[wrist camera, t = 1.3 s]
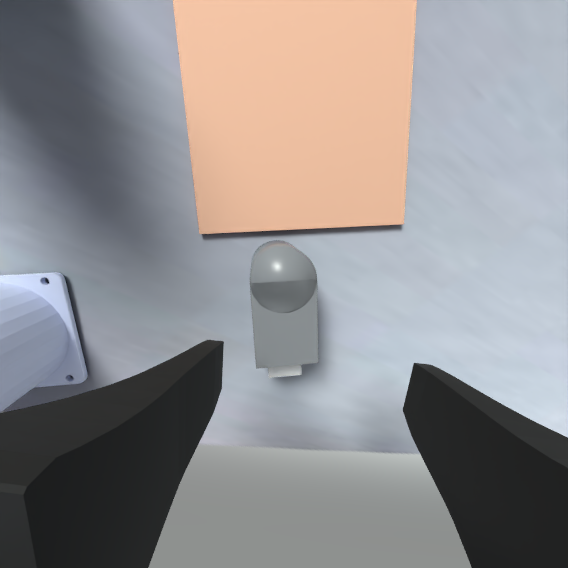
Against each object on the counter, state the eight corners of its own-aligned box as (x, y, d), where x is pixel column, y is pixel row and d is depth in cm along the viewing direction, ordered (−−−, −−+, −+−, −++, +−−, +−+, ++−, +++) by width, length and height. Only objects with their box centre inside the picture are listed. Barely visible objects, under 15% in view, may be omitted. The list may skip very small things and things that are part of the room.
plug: (257, 357, 21) (258, 399, 16) (249, 241, 19) (247, 249, 14) (304, 353, 21) (318, 393, 16) (301, 239, 19) (316, 245, 14)
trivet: (201, 233, 18) (199, 233, 18) (172, -23, 15) (169, -32, 15) (400, 224, 20) (403, 224, 19) (413, -16, 16) (417, -23, 16)
